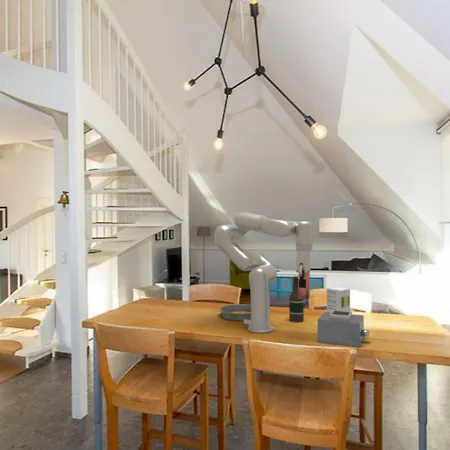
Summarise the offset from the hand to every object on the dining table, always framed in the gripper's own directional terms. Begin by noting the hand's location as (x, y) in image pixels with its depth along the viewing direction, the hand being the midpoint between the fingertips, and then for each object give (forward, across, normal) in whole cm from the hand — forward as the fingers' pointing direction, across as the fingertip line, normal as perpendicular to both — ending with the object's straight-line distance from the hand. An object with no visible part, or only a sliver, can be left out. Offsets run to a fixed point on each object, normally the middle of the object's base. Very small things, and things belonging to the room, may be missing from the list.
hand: (303, 286), depth 179 cm
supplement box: (+24, -40, +9) cm, 47 cm away
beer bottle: (+24, -27, -11) cm, 38 cm away
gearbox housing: (+23, -3, +18) cm, 30 cm away
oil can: (+6, 0, 0) cm, 6 cm away
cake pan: (+25, -25, -43) cm, 55 cm away
